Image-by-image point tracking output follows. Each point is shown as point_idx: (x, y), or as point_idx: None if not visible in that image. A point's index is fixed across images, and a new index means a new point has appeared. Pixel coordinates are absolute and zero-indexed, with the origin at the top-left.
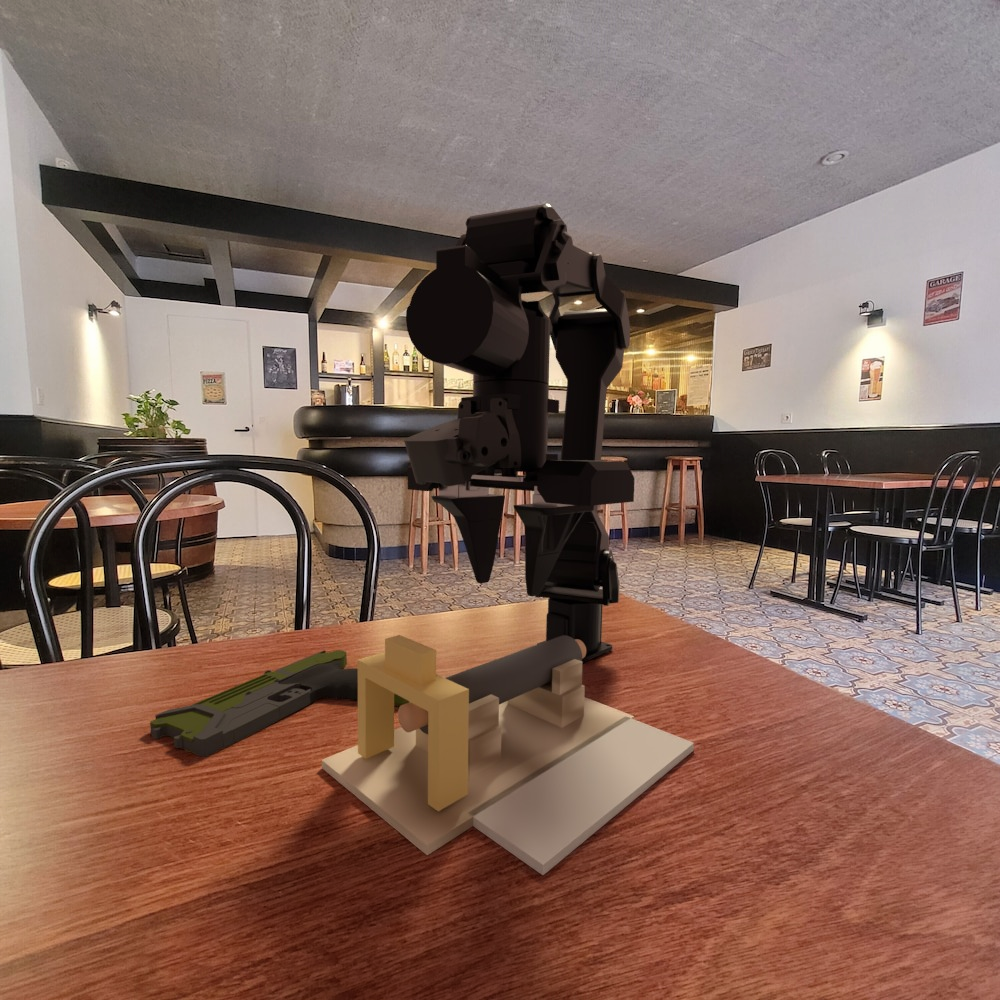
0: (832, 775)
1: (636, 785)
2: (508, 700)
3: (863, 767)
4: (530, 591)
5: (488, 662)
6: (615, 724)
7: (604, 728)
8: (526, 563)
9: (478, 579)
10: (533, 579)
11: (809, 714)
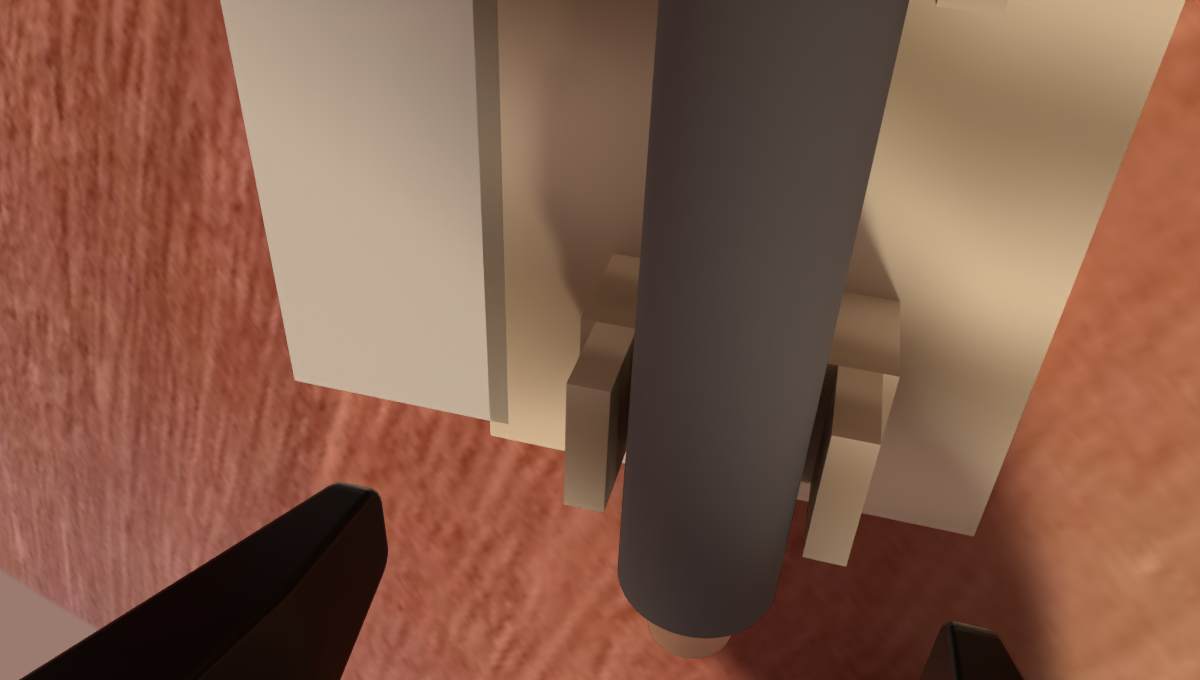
0: (82, 419)
1: (248, 89)
2: (894, 308)
3: (71, 476)
4: (313, 497)
5: (787, 183)
6: (500, 365)
7: (509, 326)
8: (163, 672)
9: (963, 642)
10: (212, 561)
11: None
